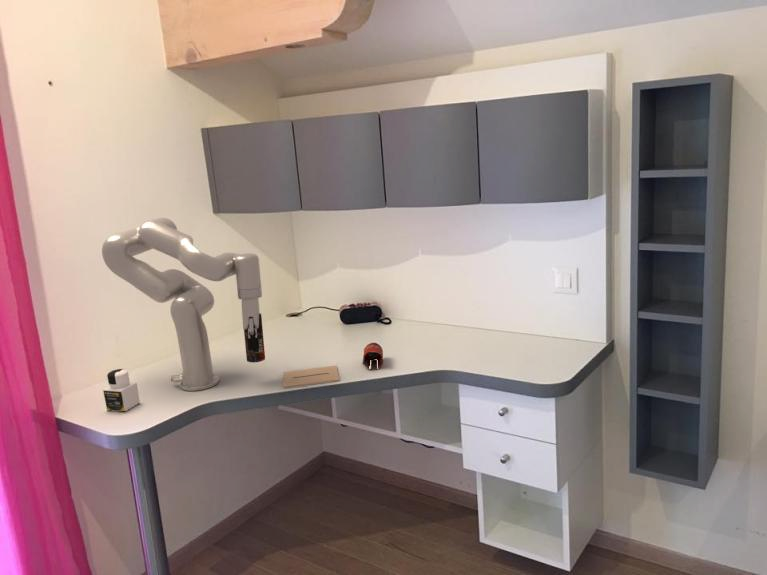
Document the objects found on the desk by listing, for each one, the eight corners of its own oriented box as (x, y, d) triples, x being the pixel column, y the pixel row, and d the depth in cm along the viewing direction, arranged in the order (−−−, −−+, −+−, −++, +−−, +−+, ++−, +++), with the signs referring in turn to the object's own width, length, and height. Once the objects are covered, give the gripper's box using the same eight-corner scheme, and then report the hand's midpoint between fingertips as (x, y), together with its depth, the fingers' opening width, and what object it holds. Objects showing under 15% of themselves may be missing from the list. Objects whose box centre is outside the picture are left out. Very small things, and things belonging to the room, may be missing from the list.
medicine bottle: (106, 410, 203) (99, 374, 200) (122, 401, 209) (116, 366, 207) (124, 412, 200) (117, 375, 198) (140, 403, 207) (134, 367, 204)
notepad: (283, 388, 209) (283, 386, 209) (283, 373, 223) (283, 371, 222) (339, 381, 211) (339, 379, 211) (336, 367, 225) (336, 365, 225)
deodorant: (259, 363, 210) (255, 318, 206) (243, 361, 212) (238, 317, 208) (268, 357, 215) (264, 313, 212) (252, 355, 217) (248, 312, 214)
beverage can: (384, 358, 230) (382, 340, 229) (384, 369, 218) (382, 351, 217) (363, 359, 230) (362, 341, 229) (362, 371, 218) (361, 352, 217)
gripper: (239, 287, 216) (244, 339, 220) (235, 300, 199) (241, 356, 203) (262, 285, 217) (267, 337, 221) (260, 298, 200) (265, 353, 204)
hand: (254, 345), depth 212 cm, fingers closed on deodorant, 5 cm apart
